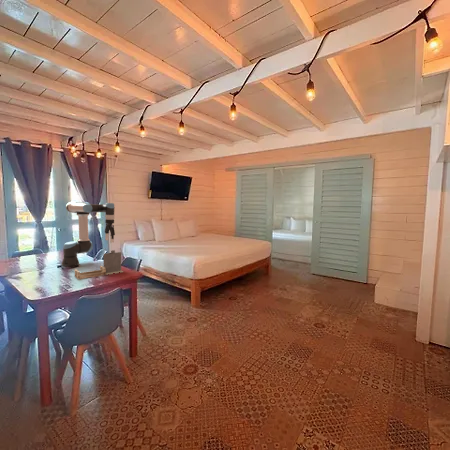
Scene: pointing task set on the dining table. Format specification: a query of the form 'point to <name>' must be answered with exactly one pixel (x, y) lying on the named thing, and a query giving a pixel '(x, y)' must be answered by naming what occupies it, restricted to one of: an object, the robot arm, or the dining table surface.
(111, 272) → the mat
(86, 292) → the dining table surface
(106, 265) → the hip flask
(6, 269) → the dining table surface
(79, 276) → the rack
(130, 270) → the dining table surface
